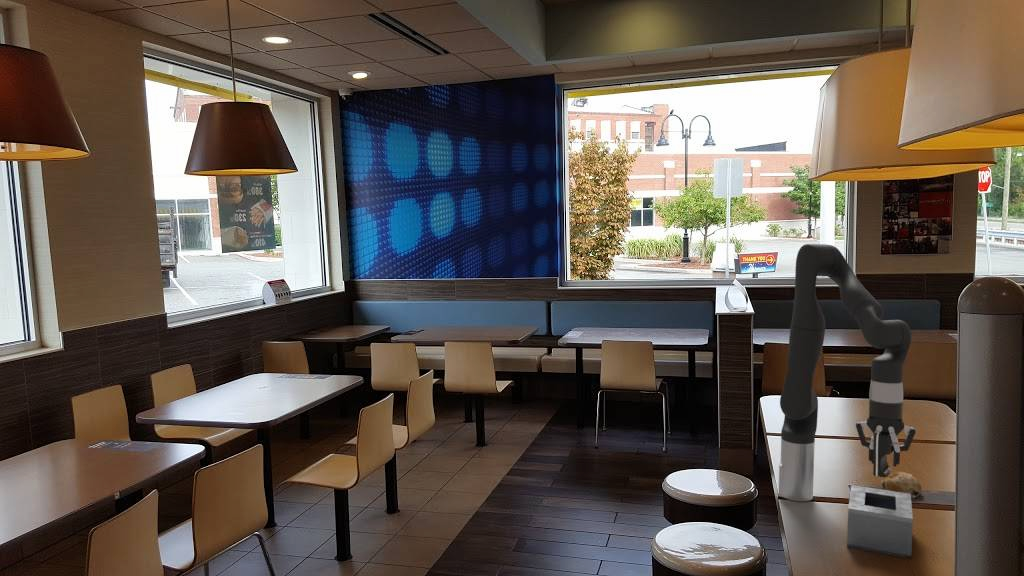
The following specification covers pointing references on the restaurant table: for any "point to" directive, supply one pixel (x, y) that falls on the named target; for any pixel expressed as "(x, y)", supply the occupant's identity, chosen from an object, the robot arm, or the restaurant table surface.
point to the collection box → (880, 521)
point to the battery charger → (882, 454)
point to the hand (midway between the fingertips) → (883, 463)
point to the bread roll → (902, 483)
